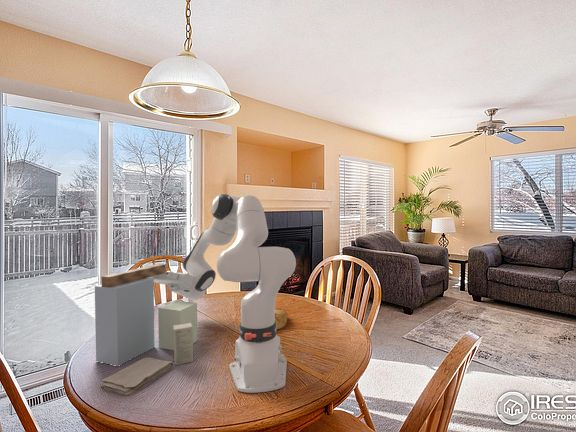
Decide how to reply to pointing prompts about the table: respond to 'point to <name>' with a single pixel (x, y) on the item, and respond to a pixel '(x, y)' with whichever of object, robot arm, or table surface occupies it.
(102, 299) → the shelf stand
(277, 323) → the croissant
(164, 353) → the table surface
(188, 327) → the skincare box
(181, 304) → the step block
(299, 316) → the table surface
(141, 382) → the washcloth
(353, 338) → the table surface
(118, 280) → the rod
